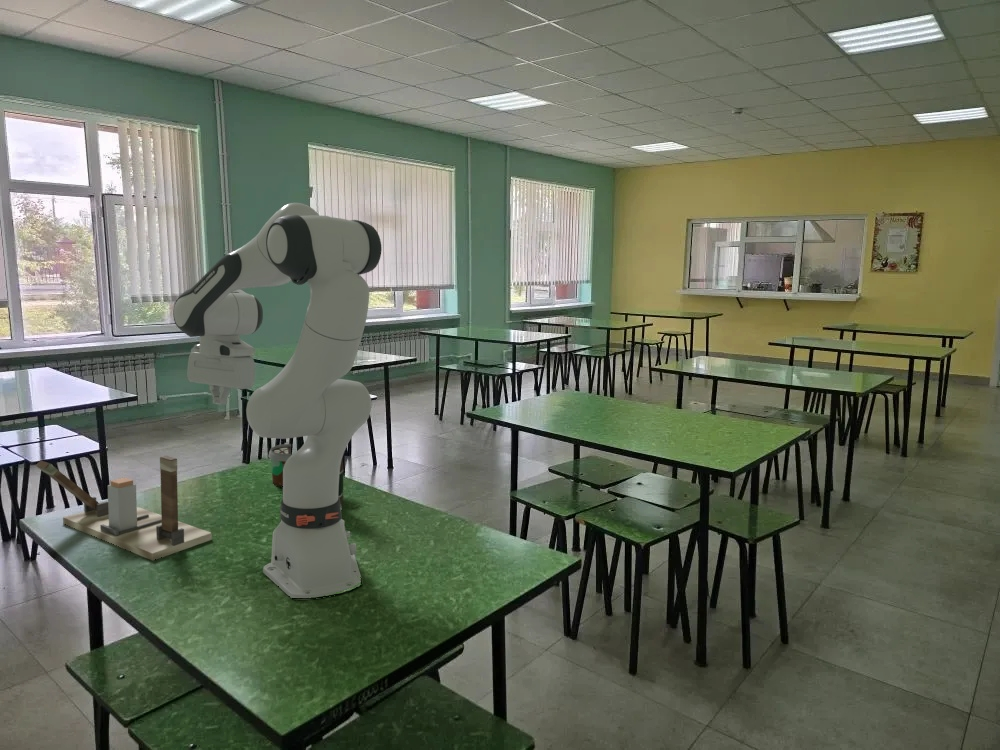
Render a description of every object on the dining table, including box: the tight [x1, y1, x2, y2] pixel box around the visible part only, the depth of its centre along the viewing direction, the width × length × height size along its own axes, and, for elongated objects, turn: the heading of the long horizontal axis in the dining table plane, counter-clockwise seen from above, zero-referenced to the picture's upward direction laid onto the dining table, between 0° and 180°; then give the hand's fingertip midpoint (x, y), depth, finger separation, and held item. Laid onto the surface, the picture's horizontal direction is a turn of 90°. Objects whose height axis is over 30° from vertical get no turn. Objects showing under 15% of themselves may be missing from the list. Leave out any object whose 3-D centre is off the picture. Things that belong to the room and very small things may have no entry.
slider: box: [107, 477, 138, 532], centre depth 149 cm, size 4×4×11 cm
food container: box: [267, 443, 292, 487], centre depth 191 cm, size 12×6×10 cm, turn 17°
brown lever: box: [159, 455, 179, 539], centre depth 143 cm, size 2×4×18 cm, turn 60°
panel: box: [62, 496, 213, 562], centre depth 152 cm, size 34×14×5 cm, turn 60°
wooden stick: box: [35, 459, 100, 511], centre depth 152 cm, size 2×4×18 cm
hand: (220, 404), depth 160 cm, fingers closed
